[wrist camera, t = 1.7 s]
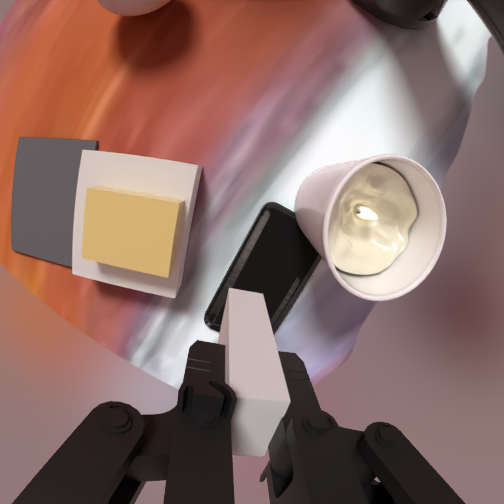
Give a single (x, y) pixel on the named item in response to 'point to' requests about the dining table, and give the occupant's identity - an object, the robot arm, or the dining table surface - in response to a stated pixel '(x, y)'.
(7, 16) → the dining table surface
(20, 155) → the dark grey mat
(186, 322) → the dining table surface
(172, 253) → the ochre tile
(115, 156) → the white stand
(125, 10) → the decorative fruit
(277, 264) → the phone
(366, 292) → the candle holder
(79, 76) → the dining table surface
